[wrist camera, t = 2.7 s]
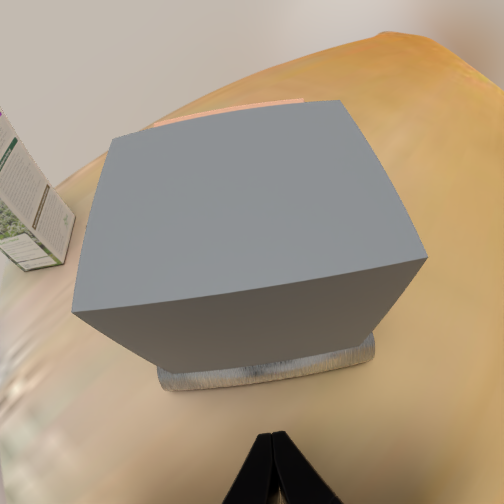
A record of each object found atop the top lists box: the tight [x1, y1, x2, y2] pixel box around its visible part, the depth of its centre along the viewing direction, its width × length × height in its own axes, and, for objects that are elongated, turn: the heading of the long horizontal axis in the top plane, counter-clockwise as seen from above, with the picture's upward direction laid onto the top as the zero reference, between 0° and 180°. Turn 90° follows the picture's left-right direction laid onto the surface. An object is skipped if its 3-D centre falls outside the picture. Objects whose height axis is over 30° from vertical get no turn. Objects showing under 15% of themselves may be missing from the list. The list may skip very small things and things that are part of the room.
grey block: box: [71, 100, 428, 374], centre depth 13 cm, size 8×10×9 cm
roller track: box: [157, 332, 375, 391], centre depth 19 cm, size 13×12×2 cm
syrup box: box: [0, 107, 75, 271], centre depth 18 cm, size 6×6×14 cm
